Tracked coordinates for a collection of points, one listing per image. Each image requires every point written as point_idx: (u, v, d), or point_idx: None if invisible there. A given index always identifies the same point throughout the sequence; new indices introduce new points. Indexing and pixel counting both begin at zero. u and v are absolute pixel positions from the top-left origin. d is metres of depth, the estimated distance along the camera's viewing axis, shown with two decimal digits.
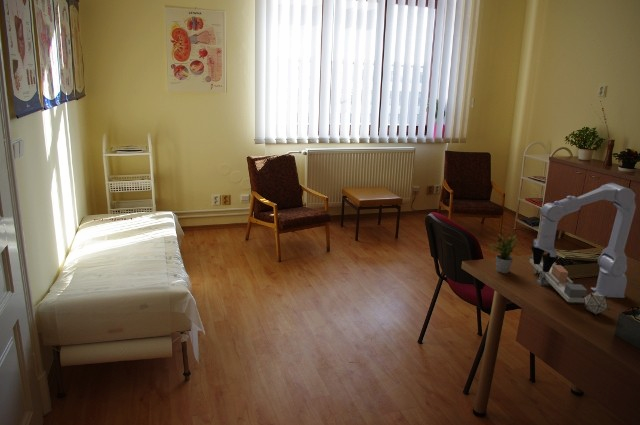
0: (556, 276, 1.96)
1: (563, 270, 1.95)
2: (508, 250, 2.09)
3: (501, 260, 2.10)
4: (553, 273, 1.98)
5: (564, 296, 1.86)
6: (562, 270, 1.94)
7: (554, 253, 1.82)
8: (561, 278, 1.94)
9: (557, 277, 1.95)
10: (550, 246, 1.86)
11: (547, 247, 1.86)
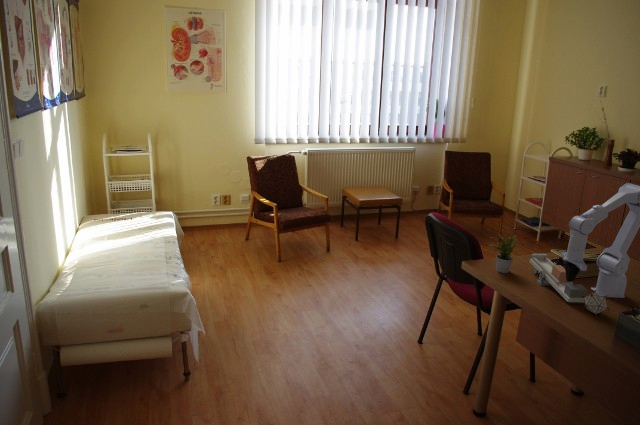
0: (556, 276, 1.96)
1: (563, 270, 1.95)
2: (508, 250, 2.09)
3: (501, 260, 2.10)
4: (553, 273, 1.98)
5: (564, 296, 1.86)
6: (562, 270, 1.94)
7: (584, 267, 1.80)
8: (561, 278, 1.94)
9: (557, 277, 1.95)
10: (580, 259, 1.84)
11: (577, 260, 1.84)
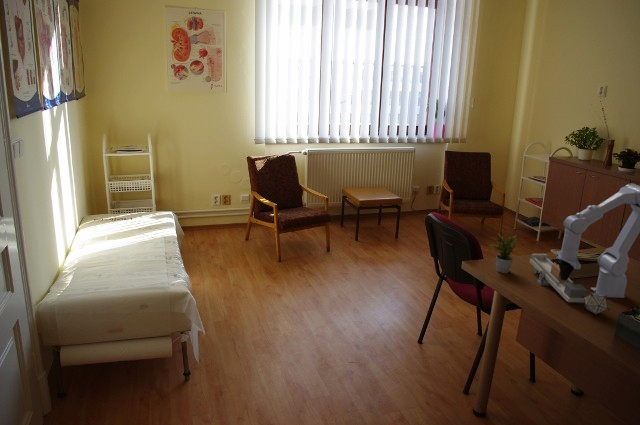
0: (556, 275, 1.96)
1: None
2: (508, 250, 2.09)
3: (501, 260, 2.10)
4: (552, 272, 1.99)
5: (564, 296, 1.86)
6: None
7: (578, 265, 1.84)
8: (560, 277, 1.95)
9: (556, 276, 1.96)
10: (574, 258, 1.88)
11: (570, 259, 1.88)
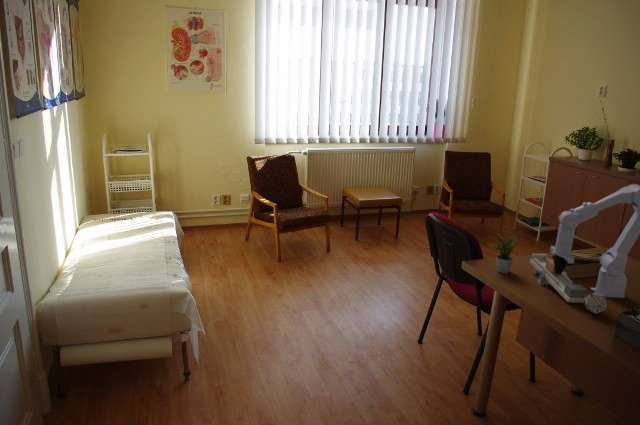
0: (550, 269, 2.00)
1: None
2: (508, 250, 2.09)
3: (501, 260, 2.10)
4: (547, 267, 2.03)
5: (564, 296, 1.86)
6: None
7: (571, 260, 1.88)
8: None
9: (551, 271, 2.00)
10: (567, 253, 1.92)
11: (564, 254, 1.92)
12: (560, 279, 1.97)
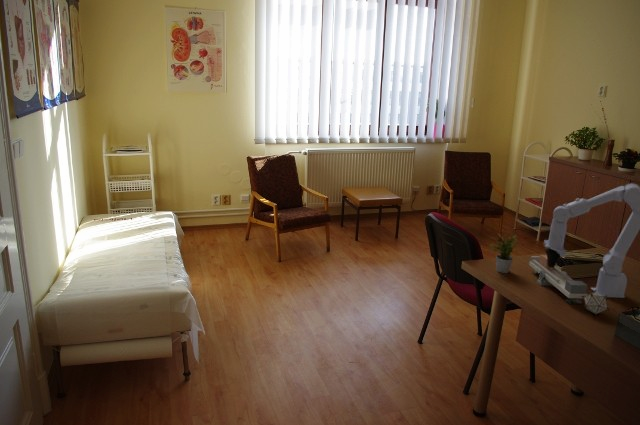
0: (544, 264, 2.06)
1: None
2: (508, 250, 2.09)
3: (501, 260, 2.10)
4: (540, 262, 2.08)
5: (565, 292, 1.86)
6: None
7: (564, 253, 1.94)
8: None
9: (544, 265, 2.05)
10: (560, 246, 1.98)
11: (557, 247, 1.98)
12: (560, 278, 1.97)
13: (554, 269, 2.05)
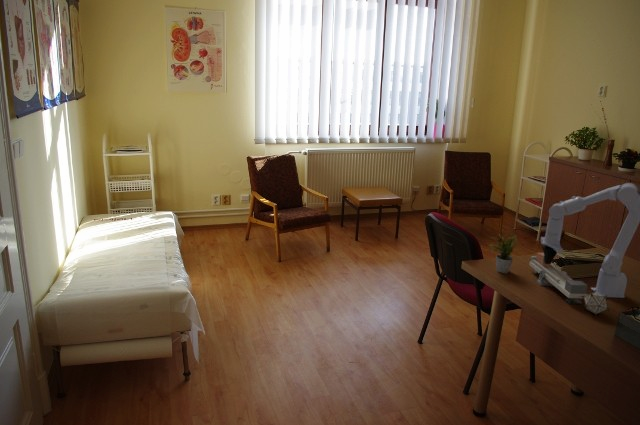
0: (541, 261, 2.08)
1: None
2: (508, 250, 2.09)
3: (501, 260, 2.10)
4: (537, 260, 2.11)
5: (565, 292, 1.86)
6: None
7: (560, 250, 1.97)
8: None
9: (541, 262, 2.08)
10: (556, 243, 2.01)
11: (553, 244, 2.01)
12: (560, 278, 1.97)
13: (554, 269, 2.05)
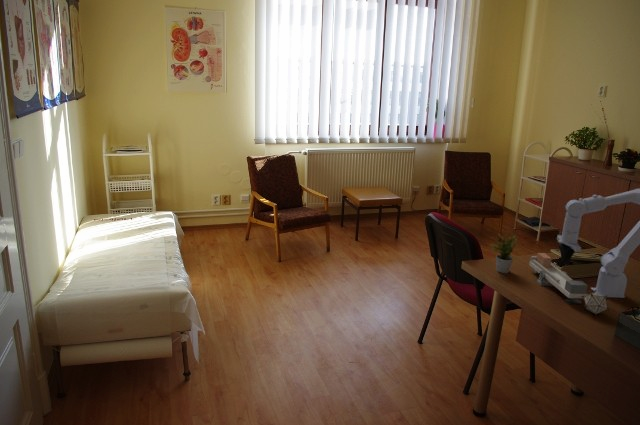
0: (541, 262, 2.08)
1: (547, 256, 2.07)
2: (508, 250, 2.09)
3: (501, 260, 2.10)
4: (538, 260, 2.11)
5: (565, 292, 1.86)
6: (545, 257, 2.07)
7: (578, 248, 1.88)
8: (545, 264, 2.07)
9: (541, 263, 2.08)
10: (574, 241, 1.92)
11: (571, 242, 1.92)
12: (560, 278, 1.97)
13: (554, 269, 2.05)
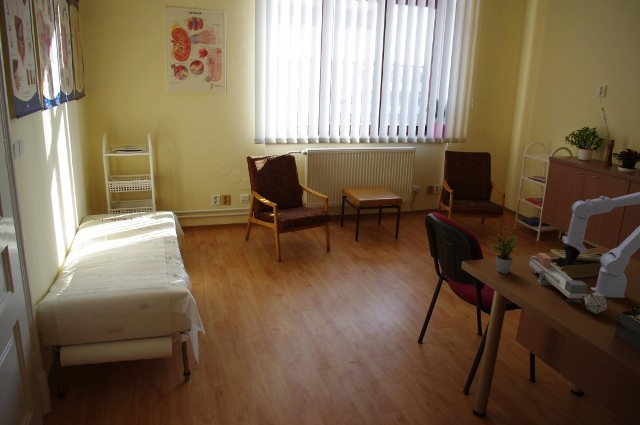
0: (541, 262, 2.08)
1: (547, 256, 2.07)
2: (508, 250, 2.09)
3: (501, 260, 2.10)
4: (538, 260, 2.11)
5: (565, 292, 1.86)
6: (545, 257, 2.07)
7: (584, 250, 1.87)
8: (545, 264, 2.07)
9: (541, 263, 2.08)
10: (580, 243, 1.91)
11: (577, 244, 1.91)
12: (560, 278, 1.97)
13: (554, 269, 2.05)
